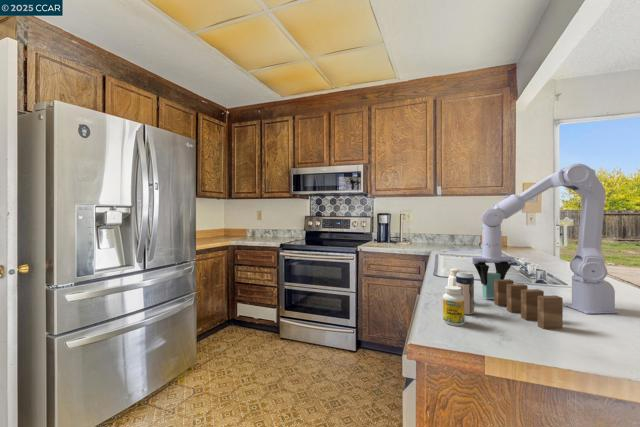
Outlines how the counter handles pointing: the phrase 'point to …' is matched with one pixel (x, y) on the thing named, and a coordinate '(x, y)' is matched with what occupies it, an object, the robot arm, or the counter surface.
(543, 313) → the walnut domino
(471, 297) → the beer can
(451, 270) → the pepper shaker
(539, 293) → the walnut domino
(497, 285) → the walnut domino
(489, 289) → the teal domino
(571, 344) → the counter surface
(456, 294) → the supplement bottle
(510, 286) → the walnut domino
